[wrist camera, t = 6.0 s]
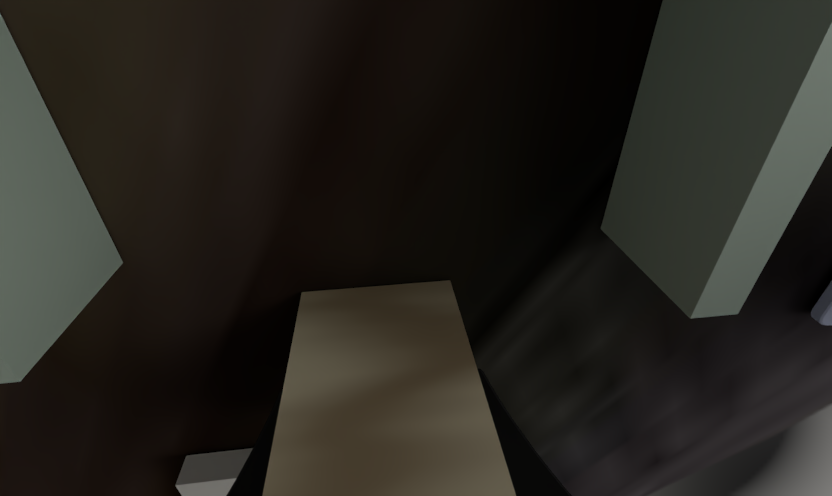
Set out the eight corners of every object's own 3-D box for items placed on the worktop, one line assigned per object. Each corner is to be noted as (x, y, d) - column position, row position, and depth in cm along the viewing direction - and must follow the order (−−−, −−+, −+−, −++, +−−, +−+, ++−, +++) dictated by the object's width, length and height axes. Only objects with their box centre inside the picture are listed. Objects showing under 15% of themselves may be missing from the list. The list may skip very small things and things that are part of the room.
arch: (827, -361, 6) (1320, -728, 3) (635, 226, 11) (737, 314, 8) (-324, -442, 4) (-1661, -1285, 2) (77, 265, 10) (-46, 387, 7)
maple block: (449, 280, 11) (524, 521, 6) (445, 396, 14) (493, 629, 9) (301, 292, 11) (250, 557, 6) (326, 409, 13) (306, 660, 8)
